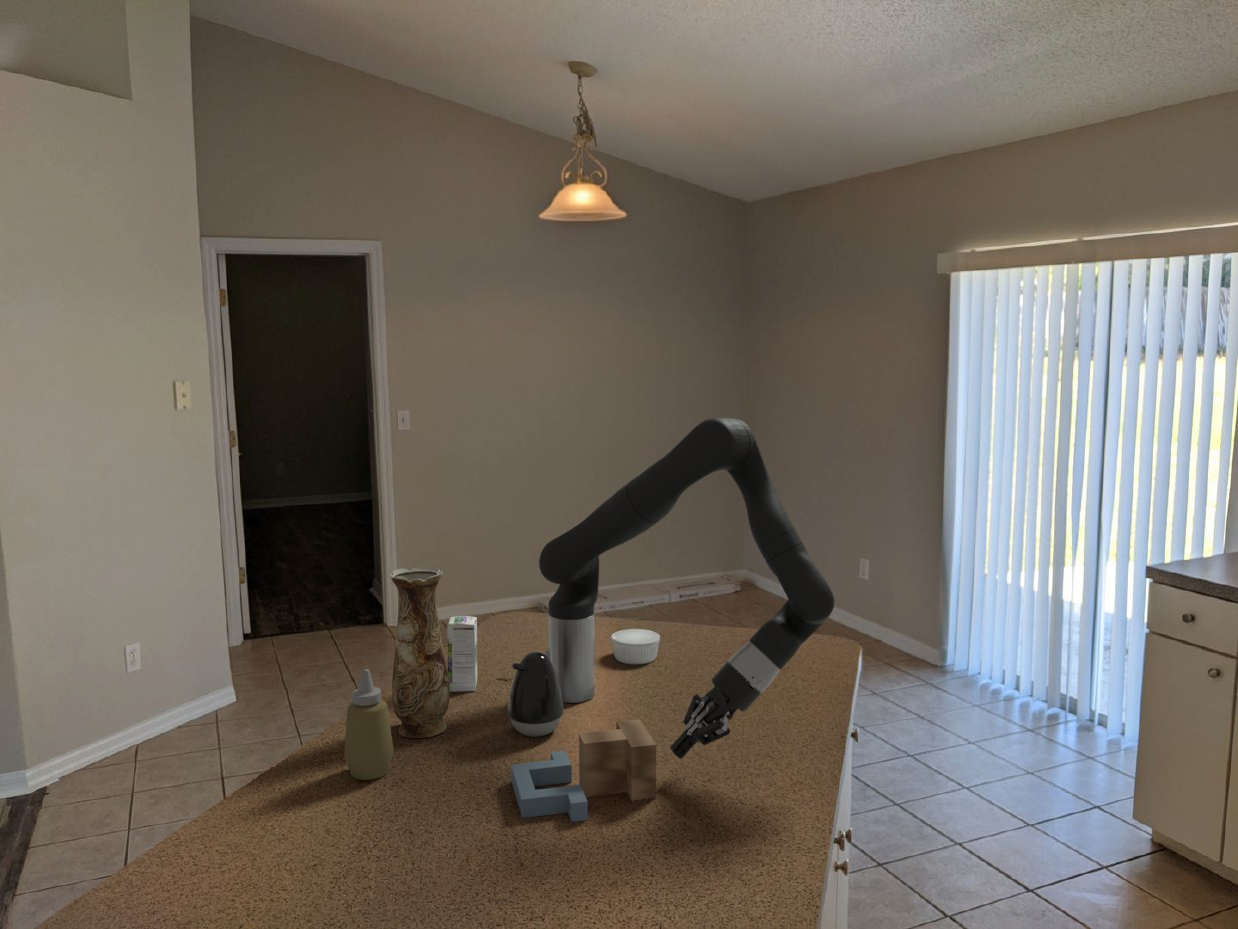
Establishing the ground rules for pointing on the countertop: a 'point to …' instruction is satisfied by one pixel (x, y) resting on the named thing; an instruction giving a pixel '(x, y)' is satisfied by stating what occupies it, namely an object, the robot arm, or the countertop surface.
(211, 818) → the countertop surface
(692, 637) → the countertop surface
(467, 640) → the syrup box
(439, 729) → the vase
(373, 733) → the squeeze bottle
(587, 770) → the t block
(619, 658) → the ramekin
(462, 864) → the countertop surface
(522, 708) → the roly-poly penguin toy
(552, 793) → the t socket
